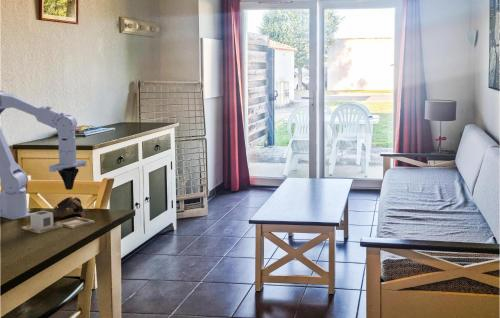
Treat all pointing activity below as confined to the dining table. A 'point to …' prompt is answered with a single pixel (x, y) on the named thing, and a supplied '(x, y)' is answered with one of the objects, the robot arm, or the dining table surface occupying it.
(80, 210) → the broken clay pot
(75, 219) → the tray far
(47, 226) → the white marked cube
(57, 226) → the tray near
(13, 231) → the dining table surface
